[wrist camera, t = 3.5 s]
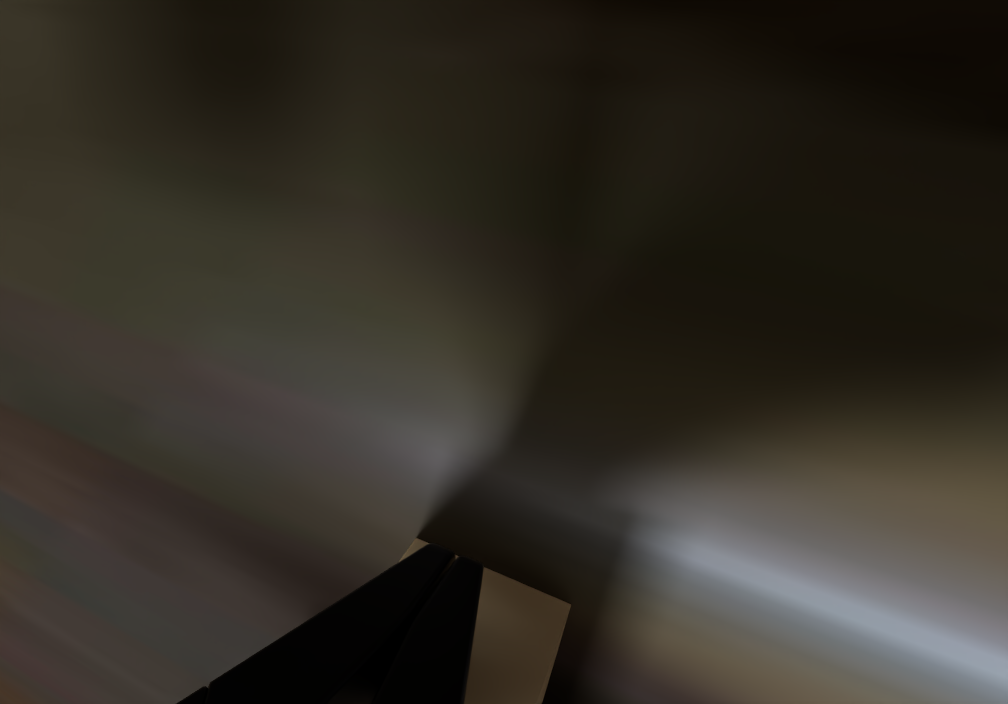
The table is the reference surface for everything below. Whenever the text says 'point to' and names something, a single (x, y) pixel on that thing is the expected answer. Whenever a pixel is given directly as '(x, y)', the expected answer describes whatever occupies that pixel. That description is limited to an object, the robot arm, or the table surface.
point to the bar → (511, 640)
